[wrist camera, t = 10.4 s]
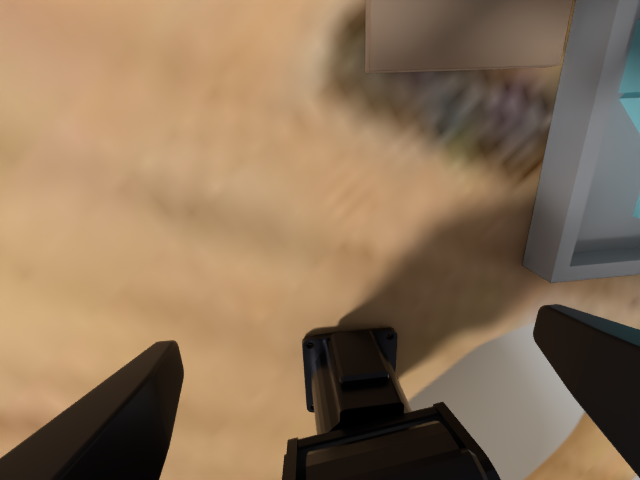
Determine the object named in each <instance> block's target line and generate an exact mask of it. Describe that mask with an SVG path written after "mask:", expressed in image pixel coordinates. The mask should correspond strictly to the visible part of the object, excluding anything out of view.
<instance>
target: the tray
mask: <svg viewBox="0 0 640 480" xmlns="http://www.w3.org/2000/svg"><path fill="white" fill-rule="evenodd" d="M638 20H640V0H576V2H575V7H574V12H573V17H572V22H571V27H570V32H569V36H568V41H567V46H566V51H565V56H564V61H563V66H562V71H561V76H560V81H559V86H558V91H557V96H556V101H555V106H554V111H553V116H552V121H551V126H550V130H549V135H548V140H547V145H546V150H545V155H544V160H543V165H542V170H541V175H540V180H539V185H538V190H537V195H536V200H535V205H534V210H533V215H532V220H531V225H530V229H529V234H528V239H527V244H526V249H525V254H524V259H523V264H522V266H524V267H526V268H527V269H529V270H530V271H532V272H534V273H535V274H537V275H539V276H540V277H542V278H543V279H545V280H547V281H548V282H550V283H555V282H565V281H575V280H586V279H596V278H606V277H617V276H627V275H637V274H640V218H636V217H633V213H634V209H635V206H636V203H637V200H638V197H639V194H640V134H639V132H638V130H637V129H636V127H635V125H634V123H633V122H632V120H631V118H630V117H629V115H628V113H627V112H626V110H625V108H624V106H623V105H622V103H621V101H620V100H619V98H620V97H621V96H622V95H623V94H624V93H619V89H620V85H621V81H622V78H623V74H624V70H625V66H626V63H627V59H628V55H629V51H630V47H631V44H632V40H633V36H634V32H635V29H636V25H637V21H638Z"/></svg>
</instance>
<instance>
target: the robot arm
mask: <svg viewBox="0 0 640 480" xmlns="http://www.w3.org/2000/svg"><path fill="white" fill-rule="evenodd" d="M388 334H391V335H390V336H387V335H388ZM533 337H534V340H535V342H536V344H537V345H538V347H539V348H540V349H541V351H542V352H543V354H544V355H545V357H546V358H547V360H548V361H549V363H550V364H551V365H552V367H553V368H554V370H555V371H556V373H557V374H558V376H559V377H560V378H561V380H562V381H563V383H564V384H565V386H566V387H567V389H568V390H569V391H570V393H571V394H572V395H573V397H574V398H575V399H576V401H577V402H578V403H579V404H580V406H581V407H582V408H583V409H584V411H585V412H586V413H587V414H588V415H589V417H590V418H591V419H592V420H593V422H594V423H595V424H596V425H597V426H598V428H599V429H600V430H601V431H602V433H603V434H604V435H605V436H606V437H607V439H608V440H609V441H610V442H611V444H612V445H613V446H614V447H615V448H616V450H617V451H618V452H619V453H620V455H621V456H622V457H623V458H624V459H625V461H626V462H627V463H628V464H629V465H630V467H631V468H632V469H633V470H634V472H635V473H636V474H637V475H638V476H639V478H640V330H639V329H635V328H632V327H629V326H626V325H623V324H620V323H616V322H613V321H610V320H607V319H604V318H601V317H597V316H594V315H591V314H588V313H585V312H582V311H578V310H575V309H572V308H569V307H566V306H563V305H558V304H554V305H544V306H542V307H541V308H540V309H539V311H538V314H537V318H536V322H535V327H534V331H533ZM307 343H312V344H311V345H307ZM302 348H303V362H304V376H305V389H306V403H307V410H308V411H309V412H315V421H316V429H317V435H314V436H310V437H306V438H302V439H298V437H297V438H293V439H289V440H288V444H287V454H286V455H284V465H283V475H282V480H501V479H500V477H499V475H498V474H497V472H496V470H495V468H494V467H493V465H492V463H491V462H490V460H489V458H488V457H487V455H486V454H485V453H484V451H483V450H482V449H481V448H480V446H479V445H478V444H477V443H476V441H475V440H474V439H473V438H472V437H471V435H470V434H469V433H468V432H467V431H466V429H465V428H464V427H463V426H462V425H461V423H460V422H459V421H458V419H457V418H456V417H455V416H454V415H453V413H452V412H451V411H450V410H449V408H448V407H447V406H446V405H445V404H444V402H440V403H436V404H433V406H432V407H428V408H424V409H420V410H416V411H412V410H411V408H410V406H409V403H408V401H407V399H406V397H405V394H404V392H403V390H402V388H401V386H400V383H399V381H398V379H397V377H396V374H395V368H396V350H397V333H396V331H395V330H394V329H393V328H391V327H387V328H377V329H366V330H357V331H347V332H338V333H330V334H321V335H311V336H306V337H305V338H304V339H303V340H302ZM183 378H184V369H183V364H182V360H181V355H180V351H179V346H178V344H177V342H176V341H174V340H170V341H160V342H156V343H155V344H153V345H152V346H151V347H149V348H148V349H147V350H145V351H144V352H142V353H141V354H140V355H138V356H137V357H136V358H134V359H133V360H132V361H130V362H129V363H128V364H126V365H125V366H124V367H122V368H121V369H120V370H118V371H117V372H116V373H114V374H113V375H112V376H110V377H109V378H108V379H106V380H105V381H104V382H102V383H101V384H100V385H98V386H97V387H96V388H94V389H93V390H91V391H90V392H89V393H87V394H86V395H85V396H83V397H82V398H81V399H79V400H78V401H77V402H75V403H74V404H73V405H71V406H70V407H69V408H67V409H66V410H65V411H63V412H62V413H61V414H59V415H58V416H57V417H55V418H54V419H53V420H51V421H50V422H48V423H47V424H46V425H44V426H43V427H42V428H40V429H39V430H38V431H36V432H35V433H34V434H32V435H31V436H30V437H28V438H27V439H26V440H24V441H23V442H22V443H20V444H19V445H18V446H16V447H15V448H14V449H12V450H11V451H10V452H8V453H7V454H5V455H4V456H3V457H1V458H0V480H159V478H160V475H161V472H162V469H163V466H164V463H165V459H166V456H167V453H168V449H169V446H170V441H171V437H172V432H173V427H174V422H175V417H176V413H177V408H178V403H179V398H180V393H181V388H182V383H183Z"/></svg>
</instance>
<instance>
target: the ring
mask: <svg viewBox="0 0 640 480" xmlns="http://www.w3.org/2000/svg"><path fill="white" fill-rule="evenodd" d="M619 93H624V94H623V95H622V96H621V97H620V98H619V100H620V101H621V103H622V105H623V106H624V108H625V110H626V112H627V113H628V115H629V117H630V118H631V120H632V122H633V123H634V125H635V127H636V129H637V130H638V132H639V134H640V20H638V21H637V25H636V29H635V32H634V36H633V40H632V44H631V47H630V51H629V55H628V59H627V63H626V66H625V70H624V74H623V78H622V81H621V85H620V89H619ZM633 217H636V218H640V194H639V197H638V200H637V203H636V206H635V209H634V213H633Z"/></svg>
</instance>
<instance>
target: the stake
mask: <svg viewBox="0 0 640 480" xmlns="http://www.w3.org/2000/svg"><path fill="white" fill-rule="evenodd" d="M572 2H573V0H366V43H365V73H392V72H424V71H455V70H486V69H518V68H546V67H552V66H557V65H560V62H561V57H562V52H563V47H564V42H565V37H566V32H567V27H568V22H569V17H570V12H571V7H572Z"/></svg>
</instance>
